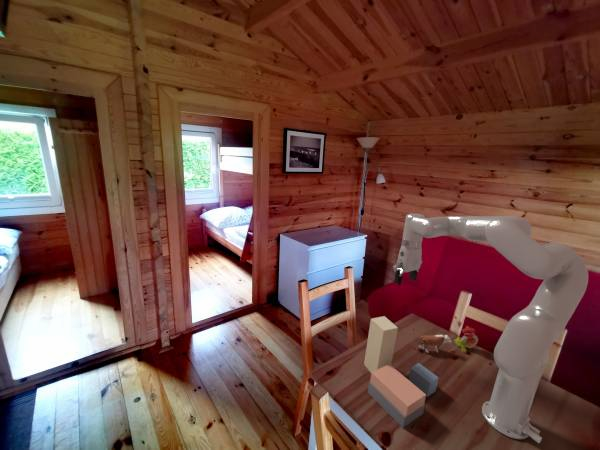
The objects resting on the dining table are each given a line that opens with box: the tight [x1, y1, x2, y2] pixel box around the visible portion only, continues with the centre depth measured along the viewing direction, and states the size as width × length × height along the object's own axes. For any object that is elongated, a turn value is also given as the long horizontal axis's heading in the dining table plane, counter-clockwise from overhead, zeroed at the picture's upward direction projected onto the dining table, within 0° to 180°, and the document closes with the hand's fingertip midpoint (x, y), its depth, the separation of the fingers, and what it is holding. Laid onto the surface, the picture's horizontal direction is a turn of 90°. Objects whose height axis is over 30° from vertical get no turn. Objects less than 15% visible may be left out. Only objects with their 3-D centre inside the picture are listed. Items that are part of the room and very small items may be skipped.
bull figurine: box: [418, 333, 453, 354], centre depth 119 cm, size 4×13×8 cm, turn 89°
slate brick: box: [407, 362, 439, 398], centre depth 100 cm, size 8×5×6 cm, turn 31°
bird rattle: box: [453, 325, 479, 353], centre depth 122 cm, size 6×11×9 cm
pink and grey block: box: [367, 364, 427, 429], centre depth 92 cm, size 15×10×8 cm, turn 31°
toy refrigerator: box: [363, 315, 399, 374], centre depth 104 cm, size 8×7×21 cm
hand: (405, 281), depth 116 cm, fingers open, 9 cm apart
